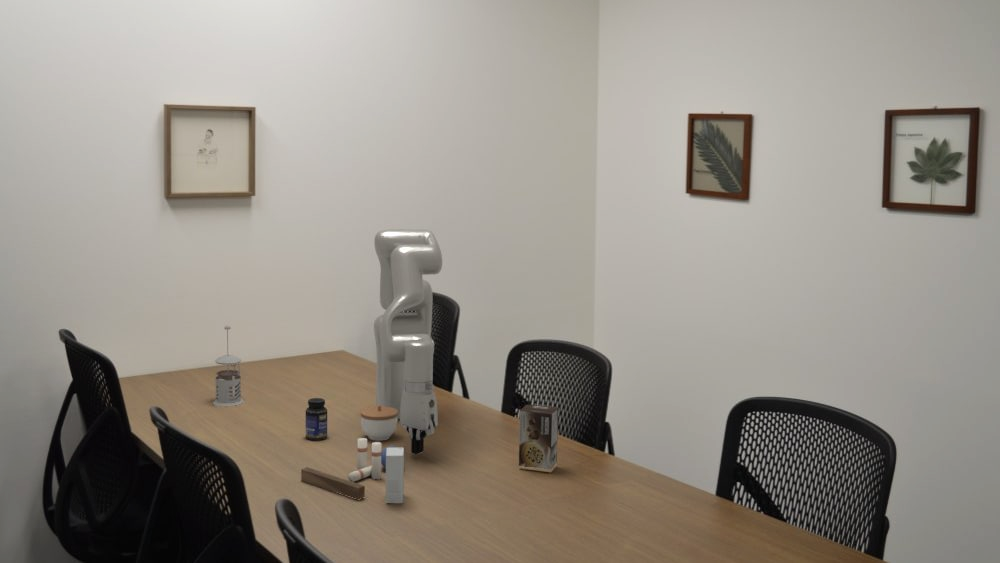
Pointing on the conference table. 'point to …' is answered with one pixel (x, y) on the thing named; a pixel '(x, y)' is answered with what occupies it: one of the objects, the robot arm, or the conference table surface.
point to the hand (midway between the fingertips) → (417, 452)
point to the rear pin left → (376, 460)
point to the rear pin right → (362, 453)
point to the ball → (383, 456)
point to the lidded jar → (379, 422)
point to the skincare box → (394, 475)
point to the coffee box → (538, 436)
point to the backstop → (332, 483)
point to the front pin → (360, 474)
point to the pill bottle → (316, 419)
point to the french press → (228, 381)
